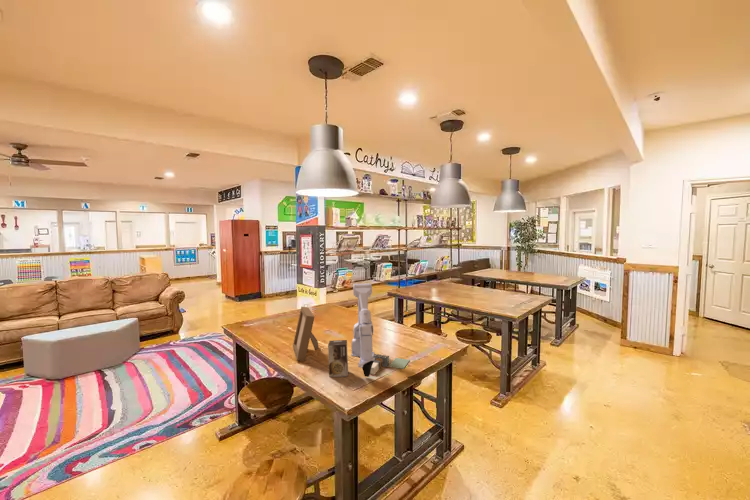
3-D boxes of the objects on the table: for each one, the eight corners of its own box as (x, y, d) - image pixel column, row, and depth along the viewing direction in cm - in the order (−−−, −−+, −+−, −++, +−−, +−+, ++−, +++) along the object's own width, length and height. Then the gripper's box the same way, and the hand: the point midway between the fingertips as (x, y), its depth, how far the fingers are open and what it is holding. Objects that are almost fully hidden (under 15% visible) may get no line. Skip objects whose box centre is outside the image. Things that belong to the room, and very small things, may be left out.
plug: (367, 373, 156) (367, 366, 156) (374, 366, 164) (374, 359, 164) (374, 374, 155) (374, 367, 155) (380, 367, 163) (380, 360, 163)
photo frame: (297, 362, 171) (296, 316, 169) (292, 348, 191) (291, 307, 189) (324, 358, 176) (323, 314, 174) (317, 344, 196) (316, 305, 195)
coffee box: (348, 370, 160) (347, 339, 158) (347, 376, 153) (346, 344, 152) (330, 371, 159) (329, 340, 158) (328, 377, 153) (327, 344, 152)
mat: (388, 366, 164) (388, 365, 164) (395, 358, 174) (395, 357, 174) (403, 368, 161) (403, 368, 161) (409, 360, 171) (409, 359, 171)
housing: (369, 364, 167) (369, 354, 166) (371, 361, 170) (371, 352, 169) (387, 367, 163) (387, 357, 163) (389, 364, 166) (389, 355, 165)
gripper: (368, 355, 142) (368, 384, 143) (379, 344, 155) (380, 370, 156) (354, 353, 145) (354, 381, 146) (366, 342, 158) (367, 368, 159)
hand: (367, 375), depth 151 cm, fingers closed
